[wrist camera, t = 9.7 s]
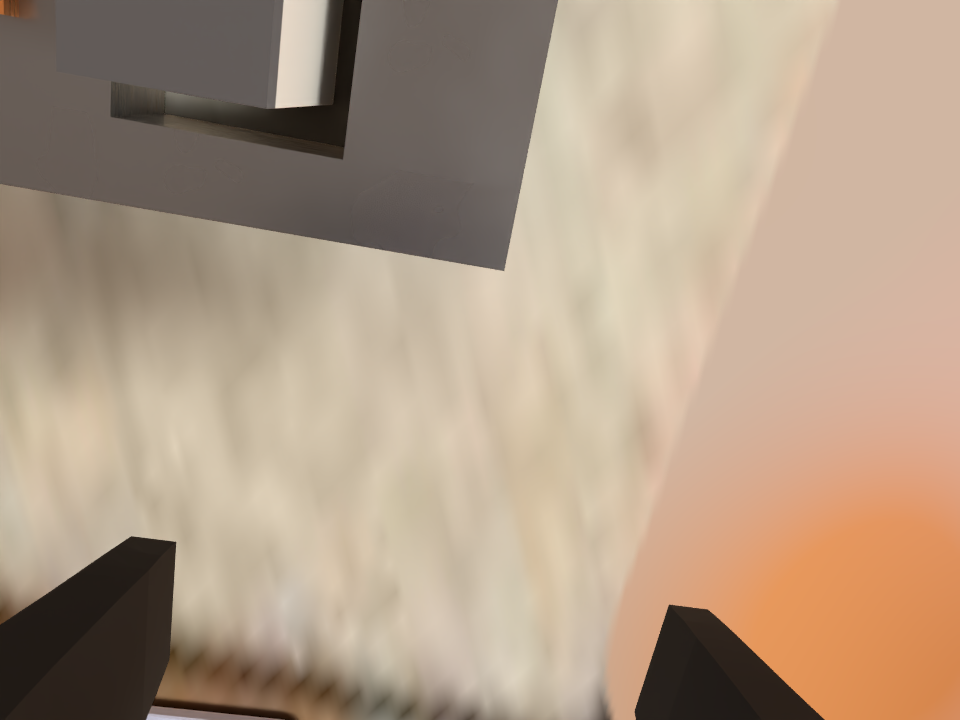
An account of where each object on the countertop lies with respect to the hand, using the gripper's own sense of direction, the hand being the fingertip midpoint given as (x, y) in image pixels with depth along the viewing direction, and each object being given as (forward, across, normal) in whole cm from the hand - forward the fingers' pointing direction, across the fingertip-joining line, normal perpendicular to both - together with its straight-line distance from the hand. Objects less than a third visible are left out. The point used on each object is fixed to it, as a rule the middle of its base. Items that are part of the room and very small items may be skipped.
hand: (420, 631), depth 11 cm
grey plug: (+10, +5, -8) cm, 14 cm away
